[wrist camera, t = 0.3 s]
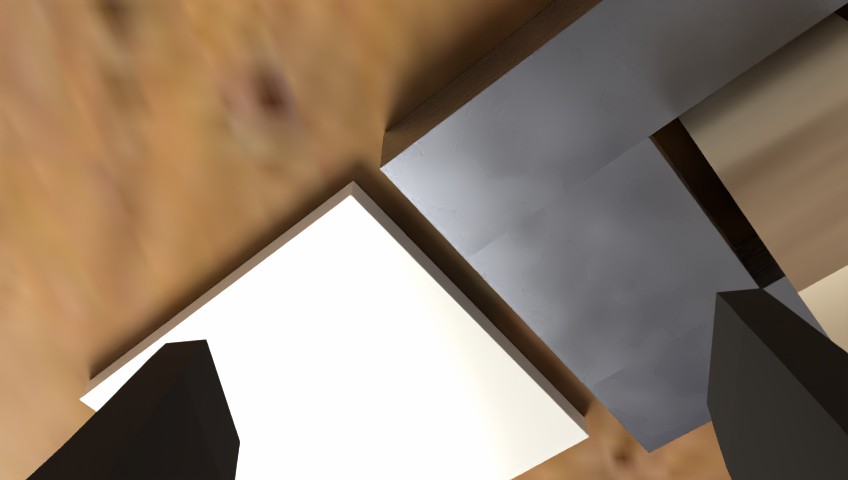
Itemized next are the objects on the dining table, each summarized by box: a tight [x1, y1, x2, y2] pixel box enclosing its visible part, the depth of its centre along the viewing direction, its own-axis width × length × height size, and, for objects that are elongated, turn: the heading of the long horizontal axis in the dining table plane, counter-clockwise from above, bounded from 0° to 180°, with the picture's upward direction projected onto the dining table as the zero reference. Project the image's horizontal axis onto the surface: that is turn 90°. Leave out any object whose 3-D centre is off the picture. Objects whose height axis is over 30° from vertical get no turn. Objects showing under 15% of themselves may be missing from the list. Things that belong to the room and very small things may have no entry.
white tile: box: [80, 181, 589, 480], centre depth 25 cm, size 11×11×1 cm
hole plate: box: [380, 0, 848, 453], centre depth 19 cm, size 12×16×2 cm
